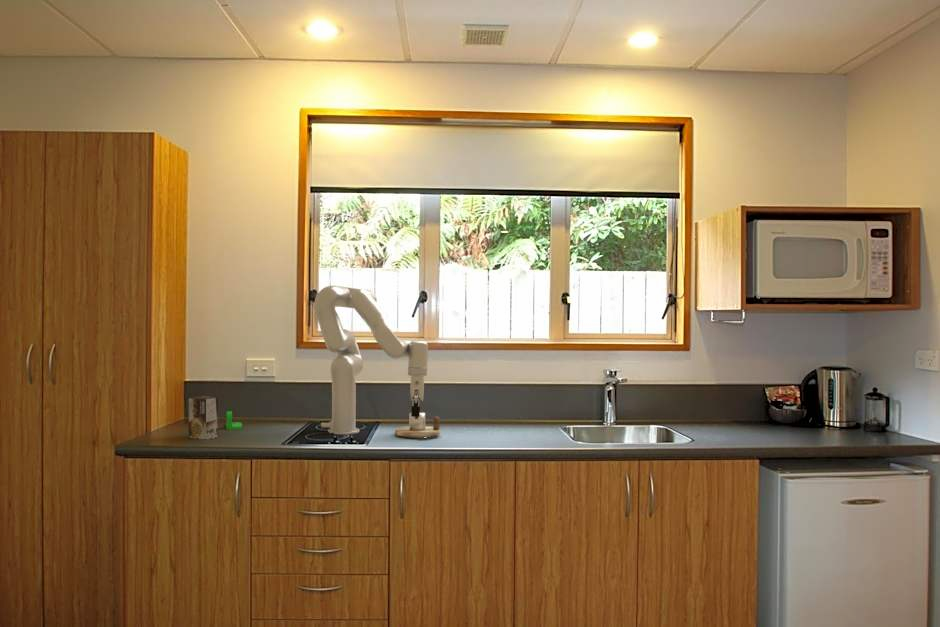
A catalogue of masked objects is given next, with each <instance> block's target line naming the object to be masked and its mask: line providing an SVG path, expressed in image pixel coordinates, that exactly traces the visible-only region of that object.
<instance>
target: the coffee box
mask: <svg viewBox="0 0 940 627" xmlns="http://www.w3.org/2000/svg"><path fill="white" fill-rule="evenodd" d="M218 401H219V396H218V397H217V396H206V395H205V396H204V395H203V396H202V395H201V396H200V395H199V396H194V397H188V438H189V437H190V438H189V439H196V438H199V439H198V440H204V439H207V440H211V439H210V438H212V439H216V438H215V437H217V438H218V437H219V436H218V435H219V434H218V430H219V429H218V428H219V427H218V426H219V425H218V423H219V414H218V413H219V402H218Z"/></svg>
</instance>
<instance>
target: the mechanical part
mask: <svg viewBox="0 0 940 627" xmlns="http://www.w3.org/2000/svg"><path fill="white" fill-rule="evenodd" d="M225 425H226V426H225V427H226V431H227V430H228V429H229V430H242V429H243V424H242V422H239V421H238V422H236V421H234V422H233V411H226V424H225Z"/></svg>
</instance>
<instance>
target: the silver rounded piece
mask: <svg viewBox="0 0 940 627" xmlns="http://www.w3.org/2000/svg"><path fill="white" fill-rule="evenodd" d="M408 416H409V417H408V418H409V420H408V422H409V424H408V425H409V430H412V431H422V430H425V426H426V412H423V411H420V415H419V417H412V416H411V412H409V414H408Z"/></svg>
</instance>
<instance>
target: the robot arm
mask: <svg viewBox="0 0 940 627" xmlns="http://www.w3.org/2000/svg"><path fill="white" fill-rule="evenodd" d="M377 300H378V299H377V296H376V294H375V292H373V291H372V290H371V289H368V288H367V289H366V288H353V287H348V286H339V285H328V286H324V287H323V288H322V289H321V290H319V292H318V293H317V294H316V296H315V300H314V304H313V306H314V308H313V309H314V312H315V315H316V319H317V322H318V324H319V327H320V332H321V335H322V336H323V340H324V343H325V347H326V349H327V350H328V351H329V352H331V353H333V354H334V353H336V354H337V356H336V357H334V359H333V360H332V361H331V364H330V375H331V376H330V378H331V396H332V397H331V400H332V401H331V421H328V422H321V423H320V427H321V428H324V429H326V428H327V433H328V432H329V433H328V434H331V433H334V434H333V435H353V434H358V433H360V429H359V428H358V427H356V425H357V424H356V420H357V419H356V415H357V412H356V410H357V409H356V406H357V399H356V398H357V392H356V391H357V389H356V388H357V385H356V380H355V379H356V377H355V376H358V375H359V374H360V373H362V370H363V368H364V362H363V361H364V360H363V357H362V354H361V352H360V348H359V345H358V343H357V339H356V338H355V335H354V333H352V332H351V331H350V330H348V329H344V327H343V324H342V322H341V319H340V317H339V314H338V312H337V311H336V307H339V308H349V309H354V310H355V311H356V313H357V314H358V315H359V316H360V318H361V320H363V321H364V323H365V324H366V325H367V326H368V328H369V329H370V331H371V334H372V335H373V337H374V339H375V341H376V343H377V344H378V345H379V347H380V348H381V349H382V350H383V352H384V353H385V354H386V355H387V356H389V357H390V358H391V359H395V360H396V359H403V358H408V362H407V363H408V365H407V376H409V377H410V400H411V401H412V402H411V412H410V413H411V416H412V417H419V415H420V412H421V411H420V410H421V402H424V396H425V395H424V394H425V393H424V391H425V377H427V376H428V374H427V373H428V353H429V352H428V351H429V344H428V342H427V341H425V340H409V339H404V338H398V337H397V336H396V335H395V333H394V332H393V331H392V329H391V328H390V326H389V323H388V315H387V314H386V312H385V311H384V310H383V308H381V307H380V305H379V304H378V303H377ZM420 401H421V402H420Z"/></svg>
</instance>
